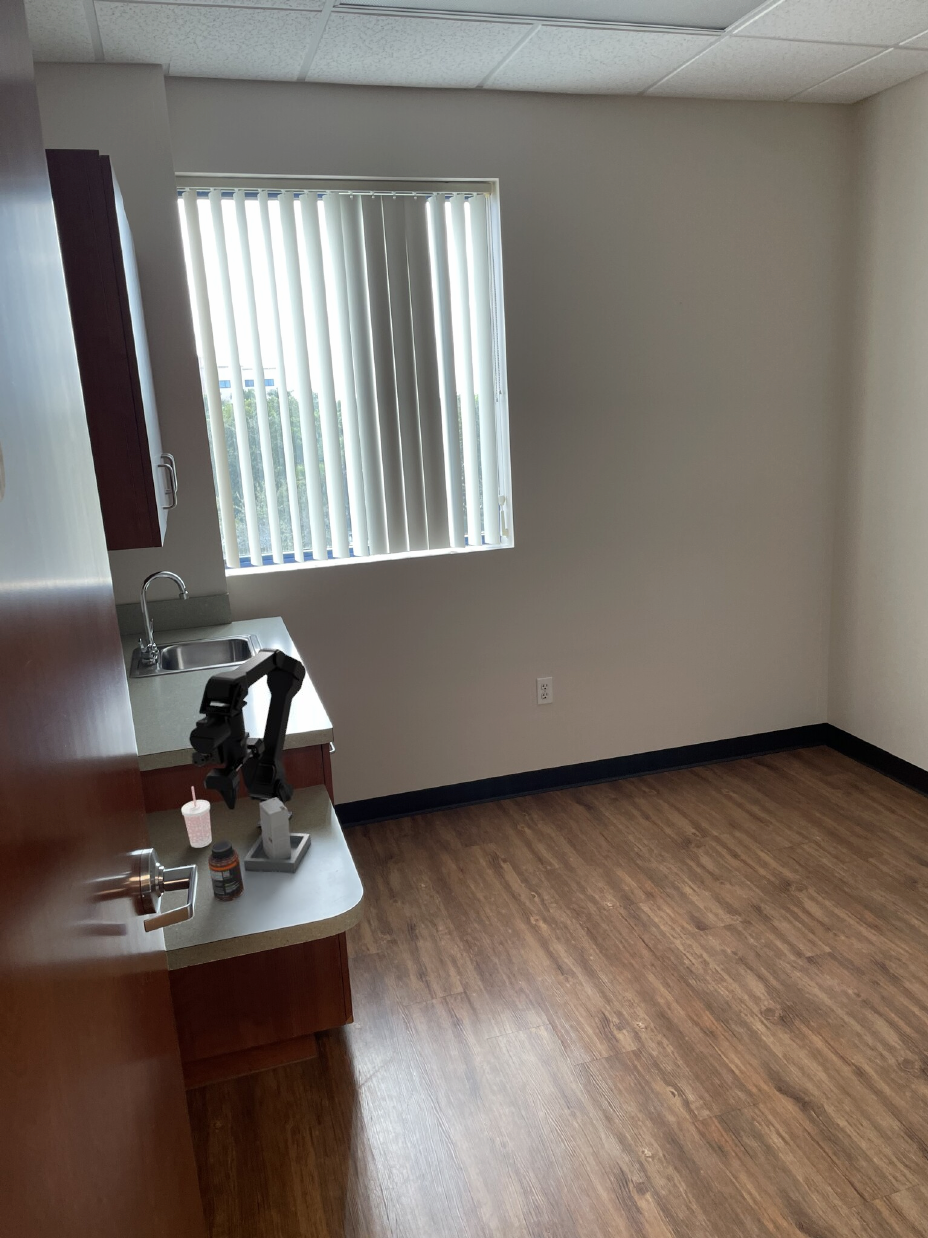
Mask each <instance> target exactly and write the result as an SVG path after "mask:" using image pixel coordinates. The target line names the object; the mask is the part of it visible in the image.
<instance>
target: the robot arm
mask: <svg viewBox="0 0 928 1238" xmlns="http://www.w3.org/2000/svg"><path fill="white" fill-rule="evenodd" d="M306 672H307V670H306V667H305V666H304V665H303V663H302V661H300V660H298V659H297V658H294V657H292V656H290V655H288V654H286V653H285V652H284V651H283V650H280V649H278V648H267V647H264V648H261V649H259V650H258V652H257V653H256V654H255V655H253V656H252V657H250V658H249V659H247V660H246V661H244V662H243V663H242V664H240V665H239V666H238V667H236V668H235V669H232V670H229V671H228V670H227V671H223V672H222V671H221V672H220V673H217V674H213V675H212V676H210V677H209V678H208V680H207V681H206V683H205V686H204V689H203V695H202V699H201V703H200V707H199V711H198V713H199V715H205V716H204V717H203V718H201V719H199V720H197V721H196V722H195V728H193V729H192V730H191V732H189V733H190V734H189V737H188V740H189V743H190V745H191V747H192V749H194V751H193V752H192V753H191V754H192V755H191V758H192V759H191V764H194V766H196V767H199V768H201V767H204V765H208V764H210V763H214V764H215V765H218V766H220V765H222V764H223V766H225V767H224V768H222V767H214V768H212V770H211V771H210V772H208V774H207V775H206V777H205V778H204V779H203V785H204V788H205V789H206V790H212V791H213V790H215V791H217V792H218V793H219V794H220V796H221V798H222V799H223V801H224V803H225V805H226V807H227V808H228V810H231V811H233V810H235V808H236V804H237V800H238V795H239V790H240V785H241V781H240V772H241V775H242V779H243V783H244V786H245V789H246V791H247V794H248V796H249V799H250V800H251V801H259V803H261V802H264V801H267V800H269V799H272V798H275V797H277V798H278V799H279V800H280V801H281V802H282V803H283V805H284V806H285V807H286V806H287V805H286V802H290V801H292V796H293V795H294V794H293V793H294V786H293V784H291V783H289V782H288V781H286V775H287V773H286V769H285V767H284V765H283V762H282V757H283V752H284V746H285V741H286V736H287V729H288V724H289V718H290V713H291V707H292V702H293V699H294V697H295V696H296V695H297V694H298V693H299V691H300V690H301V689H302V686H303V683H304V679H305V678H306ZM264 676H267V677H266V685H267V687H268V690H269V693H270V699H269V706H268V711H267V717H266V721H265V726H264V733H263V738H262V739H261V738H260V737H251V736H250V731H246V727H245V717H244V710H243V708H245V707H246V706H247V705H248V702H247V700H245V699H246V697H247V696H248V695H249V688H251V687H252V686H253V685H254V684H255V683H257V682H258V681H259V680H260V679H262V678H263V677H264ZM211 703H213V704H214V705H213V704H211ZM215 704H222V705H215ZM239 769H240V772H239V771H238V770H239ZM286 808H287V807H286ZM292 816H293V812H292V811H288V821H290V819H291V817H292ZM256 826H257V828H262V827H261V818H260V820H259V821H258V822H257V824H256Z"/></svg>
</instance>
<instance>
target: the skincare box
mask: <svg viewBox="0 0 928 1238" xmlns="http://www.w3.org/2000/svg"><path fill="white" fill-rule="evenodd" d="M258 806H259V816H260V819H261V827H260V828H261V834H262V837H263V848H264V852H265V853H266V855H267V856H268V857H269V859H281V860H284V859H287V858H289V857H291V847H290V834H289V833H290V825H289V824H290V822H289V821H290V820H288V812H289V810H288V807H285V806H284V805H283V803H282V802H281V801H280V800H279V799H278V798H277V797H275V798H272V799H269V800H267V801H264V802H261V803H260V802H259V803H258Z"/></svg>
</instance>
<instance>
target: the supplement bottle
mask: <svg viewBox="0 0 928 1238" xmlns="http://www.w3.org/2000/svg"><path fill="white" fill-rule="evenodd" d="M210 849H211V853H210V855H209V857H208V860H207V861H208V868H209V874H210V881H211V886H212V893H213V895H214V898H215V899H216V900H218V901H223V902H226V901H227V902H229V901H232V900H234V899H236V898H238V897H240V896H241V894H242V893H243V892H244V883H243V876H242V869H241V868H242V867H241V863H240V862H241V861H240V856H239V853H238V852H237V850H236V849H234V848H233V845H232V842H231V841H230V840H227V839H222V840H218V841H216V842H214V843H213V844H212V845H211V847H210Z"/></svg>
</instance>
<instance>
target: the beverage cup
mask: <svg viewBox="0 0 928 1238" xmlns="http://www.w3.org/2000/svg"><path fill="white" fill-rule="evenodd" d="M191 793H192V799H193V800H191V801H189V802H187V803H185V804H184V805H183V806H181V810H180V811H181V814H182V816H183V818H184V822H185V826H186V829H187V835H188V839H189V843H190V846H191V847H192V848H196V849H197V848H203V847H206V846H209V845H210V844H211V843H212V841H213V840H212V830H211V829H212V827H211V813H210V810H211V804H210V802H209V801H208V800H206V799H205V800H204V799H196V794H195V787H194V786H193V785H192V786H191Z"/></svg>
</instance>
